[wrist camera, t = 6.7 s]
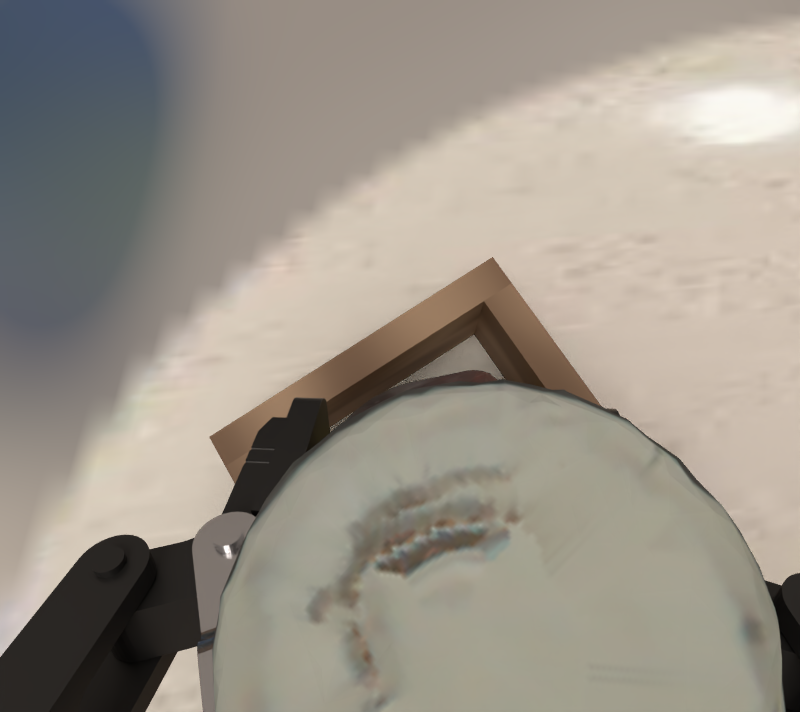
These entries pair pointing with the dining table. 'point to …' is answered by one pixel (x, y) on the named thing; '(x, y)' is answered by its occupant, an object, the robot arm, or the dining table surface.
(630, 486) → the sauce bottle
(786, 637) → the robot arm
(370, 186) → the dining table surface
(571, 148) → the dining table surface
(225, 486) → the dining table surface
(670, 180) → the dining table surface
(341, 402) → the bottle holder
